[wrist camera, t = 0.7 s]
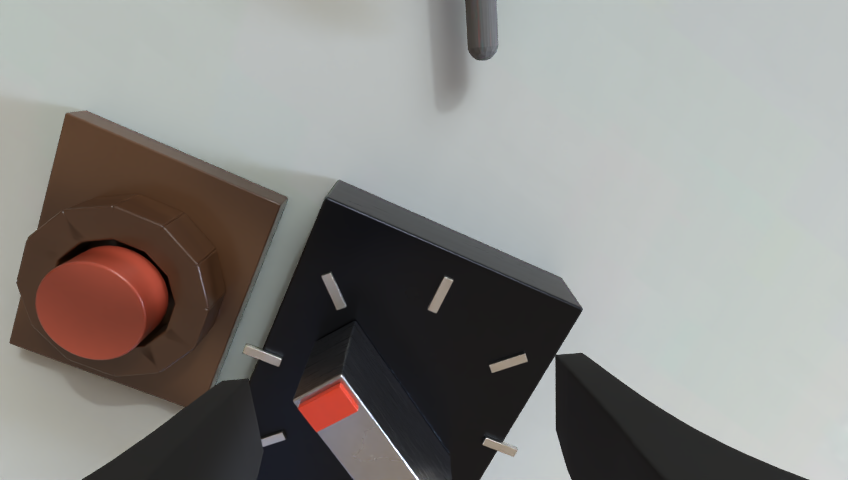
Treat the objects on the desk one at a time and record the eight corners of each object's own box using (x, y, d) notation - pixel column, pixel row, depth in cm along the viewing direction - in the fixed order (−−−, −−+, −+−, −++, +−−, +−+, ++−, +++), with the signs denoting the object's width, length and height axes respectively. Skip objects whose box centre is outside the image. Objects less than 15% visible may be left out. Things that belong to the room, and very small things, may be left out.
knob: (450, 456, 21) (457, 539, 17) (411, 475, 21) (410, 560, 17) (355, 319, 19) (340, 379, 15) (314, 341, 19) (289, 406, 16)
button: (154, 350, 20) (129, 376, 18) (57, 314, 19) (23, 337, 18) (181, 268, 19) (158, 288, 17) (81, 228, 18) (46, 244, 17)
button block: (210, 396, 23) (181, 441, 21) (29, 329, 22) (-29, 367, 19) (288, 197, 21) (267, 217, 18) (85, 109, 20) (28, 116, 17)
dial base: (441, 508, 25) (444, 567, 22) (219, 429, 24) (191, 480, 21) (575, 283, 22) (600, 317, 19) (324, 172, 20) (307, 189, 17)
